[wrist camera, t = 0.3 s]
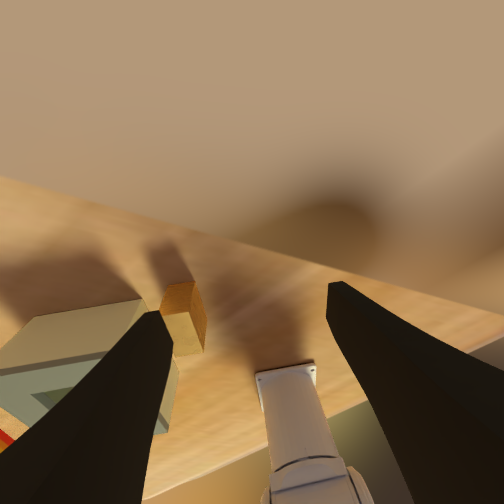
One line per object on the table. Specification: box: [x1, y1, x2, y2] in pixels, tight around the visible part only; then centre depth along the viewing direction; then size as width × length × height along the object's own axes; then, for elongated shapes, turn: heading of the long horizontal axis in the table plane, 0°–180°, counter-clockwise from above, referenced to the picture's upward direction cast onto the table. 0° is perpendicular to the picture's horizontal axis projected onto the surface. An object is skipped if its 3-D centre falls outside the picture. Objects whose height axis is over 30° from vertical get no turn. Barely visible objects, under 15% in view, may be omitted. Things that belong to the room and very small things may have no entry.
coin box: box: [0, 299, 179, 435], centre depth 20 cm, size 12×10×6 cm
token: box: [159, 281, 207, 357], centre depth 19 cm, size 5×2×4 cm, turn 7°
